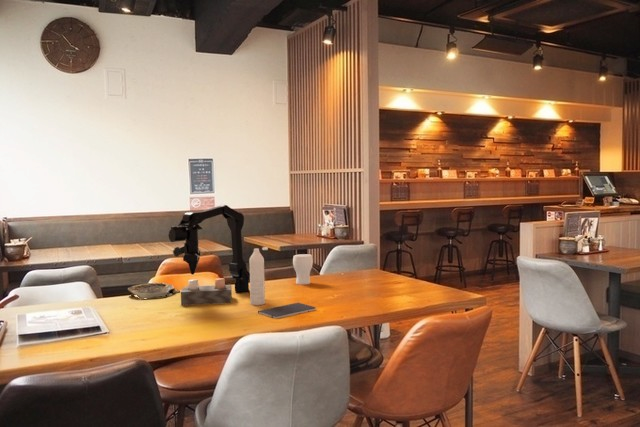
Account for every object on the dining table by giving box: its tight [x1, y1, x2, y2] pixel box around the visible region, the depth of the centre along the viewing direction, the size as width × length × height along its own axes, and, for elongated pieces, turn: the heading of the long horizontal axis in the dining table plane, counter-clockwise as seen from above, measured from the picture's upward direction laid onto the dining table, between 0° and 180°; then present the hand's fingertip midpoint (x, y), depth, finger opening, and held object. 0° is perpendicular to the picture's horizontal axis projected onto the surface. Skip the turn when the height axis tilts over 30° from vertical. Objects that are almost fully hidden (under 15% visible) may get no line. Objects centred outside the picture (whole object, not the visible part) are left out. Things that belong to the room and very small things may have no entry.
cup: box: [292, 253, 314, 286], centre depth 283 cm, size 11×11×15 cm
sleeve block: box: [180, 284, 233, 306], centre depth 245 cm, size 22×12×6 cm, turn 98°
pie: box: [127, 282, 181, 301], centre depth 264 cm, size 28×27×5 cm
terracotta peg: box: [214, 277, 226, 289], centre depth 245 cm, size 4×4×6 cm
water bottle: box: [248, 246, 269, 306], centre depth 238 cm, size 9×6×25 cm
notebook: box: [257, 302, 316, 320], centre depth 223 cm, size 13×2×21 cm
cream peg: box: [187, 278, 199, 290], centre depth 244 cm, size 4×4×6 cm
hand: (192, 273), depth 243 cm, fingers open, 3 cm apart
